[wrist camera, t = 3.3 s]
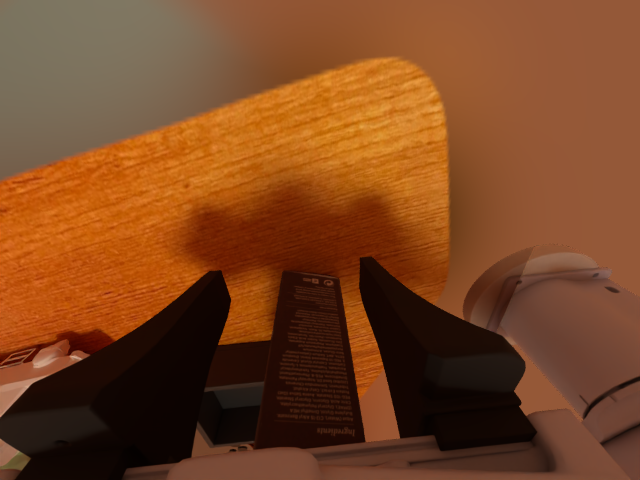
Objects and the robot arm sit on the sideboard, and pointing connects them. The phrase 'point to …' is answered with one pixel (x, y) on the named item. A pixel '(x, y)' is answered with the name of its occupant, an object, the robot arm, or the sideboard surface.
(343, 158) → the sideboard surface
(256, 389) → the bin
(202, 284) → the robot arm
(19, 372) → the toy car
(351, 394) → the box
